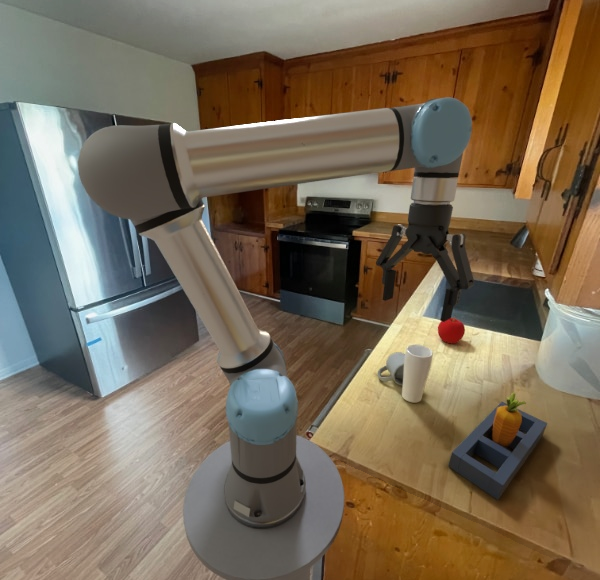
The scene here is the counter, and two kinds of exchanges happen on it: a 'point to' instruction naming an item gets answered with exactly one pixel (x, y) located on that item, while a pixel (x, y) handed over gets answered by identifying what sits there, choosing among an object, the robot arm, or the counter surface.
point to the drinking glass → (416, 372)
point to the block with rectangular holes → (496, 453)
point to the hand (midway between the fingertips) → (414, 308)
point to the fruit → (451, 330)
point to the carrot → (507, 422)
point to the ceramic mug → (393, 368)
